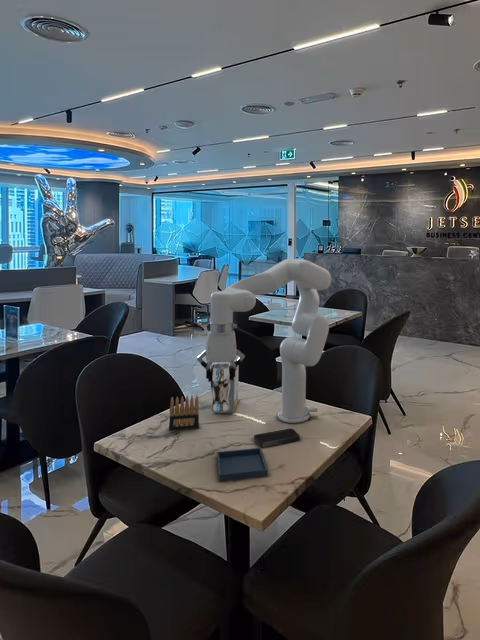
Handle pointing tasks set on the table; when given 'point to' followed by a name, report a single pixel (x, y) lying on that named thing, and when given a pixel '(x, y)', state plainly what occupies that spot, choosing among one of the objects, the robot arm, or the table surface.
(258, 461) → the tray
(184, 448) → the table surface
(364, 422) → the table surface
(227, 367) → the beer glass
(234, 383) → the hard drive box
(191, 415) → the ammunition clip
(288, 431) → the phone
